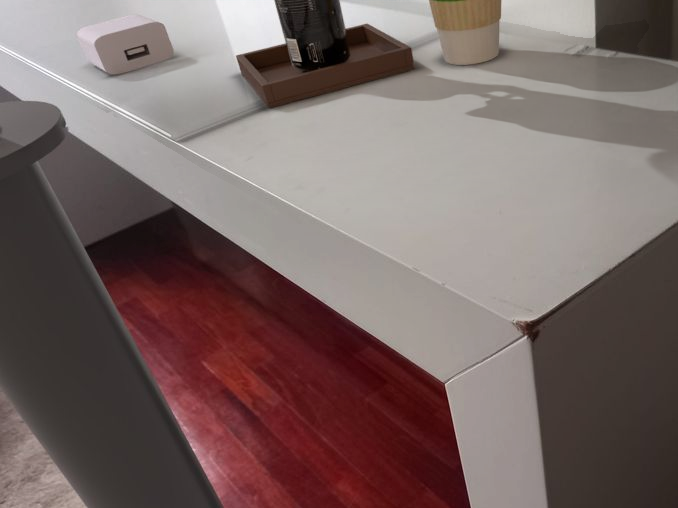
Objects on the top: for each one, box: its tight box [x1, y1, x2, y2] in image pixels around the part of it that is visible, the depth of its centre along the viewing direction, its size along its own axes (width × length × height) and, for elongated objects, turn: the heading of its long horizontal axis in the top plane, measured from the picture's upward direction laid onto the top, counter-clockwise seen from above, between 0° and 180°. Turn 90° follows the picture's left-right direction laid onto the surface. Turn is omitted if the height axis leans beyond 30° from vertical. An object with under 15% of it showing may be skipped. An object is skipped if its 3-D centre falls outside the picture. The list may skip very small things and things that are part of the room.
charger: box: [76, 14, 175, 75], centre depth 94 cm, size 5×9×15 cm
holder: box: [235, 23, 416, 109], centre depth 78 cm, size 17×15×2 cm
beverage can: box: [273, 0, 351, 73], centre depth 75 cm, size 7×7×12 cm
